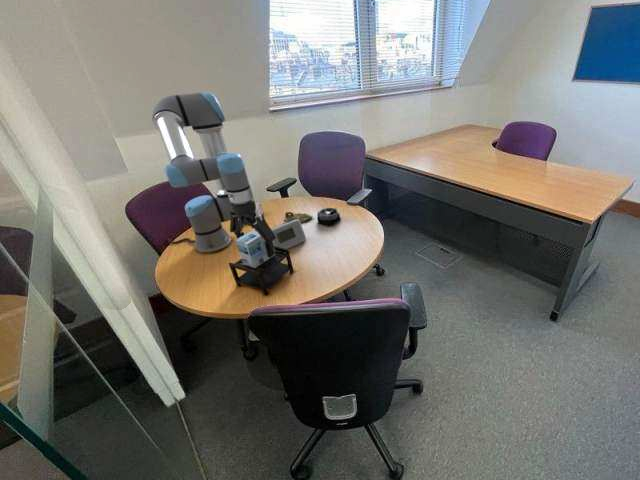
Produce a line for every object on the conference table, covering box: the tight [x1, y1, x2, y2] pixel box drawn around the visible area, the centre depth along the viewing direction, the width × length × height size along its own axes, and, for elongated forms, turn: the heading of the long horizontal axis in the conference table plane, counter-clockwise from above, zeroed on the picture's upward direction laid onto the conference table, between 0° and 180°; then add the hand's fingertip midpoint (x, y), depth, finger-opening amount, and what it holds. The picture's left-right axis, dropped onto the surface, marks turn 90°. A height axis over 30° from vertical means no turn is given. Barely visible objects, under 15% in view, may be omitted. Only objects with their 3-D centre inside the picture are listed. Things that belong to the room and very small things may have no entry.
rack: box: [228, 246, 295, 297], centre depth 121 cm, size 15×16×11 cm
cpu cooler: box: [316, 207, 341, 227], centre depth 162 cm, size 10×6×10 cm
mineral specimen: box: [255, 202, 264, 215], centre depth 170 cm, size 13×7×6 cm, turn 175°
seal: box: [284, 211, 313, 224], centre depth 166 cm, size 9×5×15 cm
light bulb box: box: [235, 228, 275, 268], centre depth 116 cm, size 11×7×11 cm, turn 150°
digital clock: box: [270, 219, 307, 252], centre depth 142 cm, size 16×9×11 cm, turn 123°
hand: (258, 251), depth 117 cm, fingers open, 13 cm apart
